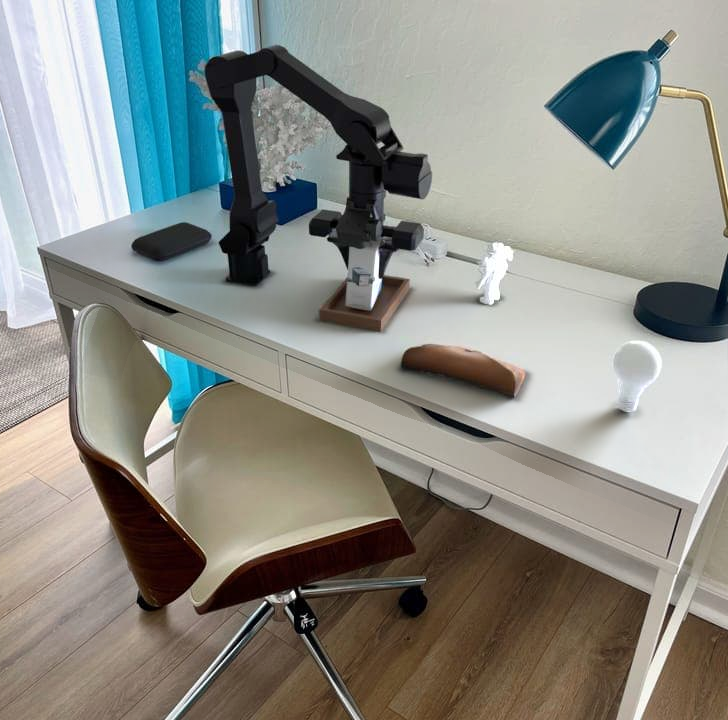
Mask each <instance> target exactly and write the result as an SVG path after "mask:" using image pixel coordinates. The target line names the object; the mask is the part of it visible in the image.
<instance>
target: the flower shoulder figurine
mask: <svg viewBox="0 0 728 720" xmlns="http://www.w3.org/2000/svg"><path fill="white" fill-rule="evenodd" d="M483 252H484V253H486V254H487V256H484V257H481V258H480V260H478V261H477V262H476V264H478V265H476V268H477V270H478V271H479V273H480V274H481V275H480V277H479V278H478V280H477V281H476V282H475V284H474V286H475V288H476V290H480V289H481V287H482V286H483V285H484V288H483V296H481V297H479V302H480V303H482V304H485V305H493V304H494V301H498V300H499V299H500V289H499V284H500V280H501V279H502V278H503V277H504V276H505V275H506V272H507V269H508V268H509V267H508V263H507V260H508V261H509V262H511V261H512V260H513V257H514V256H513V253H514V250H512V249H511V246H509V245H504V244H503V243H502V242H496V241H495V242H491V243H489V244H487V246H485V247H484V248H483ZM481 269H483V270H481Z"/></svg>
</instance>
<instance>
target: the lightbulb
mask: <svg viewBox="0 0 728 720" xmlns="http://www.w3.org/2000/svg"><path fill="white" fill-rule="evenodd" d="M661 369H662V357H661V355H660V353H659V351H658V350H657V349H656V347H654V346H653V345H652V344H651V343H648V342H646V341H643V340H630V341H628V342H625V343H623V344H622V345H620V346H619V347H618V348H617V350H616V351H615V353H614V355H613V358H612V370H613V373H614V376H616V379H617V382H618V390H619V392H618V398H617V402H616V407H617V408H618V409H619V410H621V411H623V412H626V413H632V412H634V411H636V410H637V407H638V402H639V398H640V396H641V395H642V394H643V392H644V391H645V389H646V387H648V386H649V385H650V384H652V383H653V382H654V381H655V380H656V379H657V378H658V376H659V375H660V372H661Z"/></svg>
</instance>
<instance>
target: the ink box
mask: <svg viewBox="0 0 728 720" xmlns="http://www.w3.org/2000/svg"><path fill="white" fill-rule="evenodd" d="M383 243H384V237H380V238H379V240H378V241H371V242H368V244H367V246H366V247H365V248H363V249H356V248H355V247H349V263H348V270H347V277H348V278H347V277H346V278H347V291H346V305H345V306H347V307H352V308H357V309H362V310H368V311H371V310H372V308H373V306H374V304H375V301H376V299H377V297H378V295H379V293H380V290H381V285H382V279H379V263H380V254H381V253H380V250H379V248H380V246H381V245H382V244H383Z"/></svg>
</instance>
